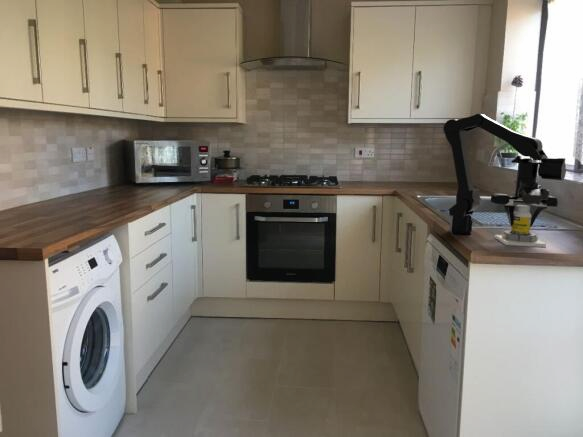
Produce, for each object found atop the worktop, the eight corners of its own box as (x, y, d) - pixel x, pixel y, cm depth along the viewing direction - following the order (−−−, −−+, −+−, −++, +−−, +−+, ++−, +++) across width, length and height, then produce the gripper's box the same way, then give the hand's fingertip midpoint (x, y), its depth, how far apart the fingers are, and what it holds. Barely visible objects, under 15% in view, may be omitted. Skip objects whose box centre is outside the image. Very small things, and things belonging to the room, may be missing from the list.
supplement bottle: (508, 235, 151) (511, 205, 149) (512, 233, 155) (516, 204, 153) (526, 238, 147) (530, 207, 146) (530, 235, 152) (534, 205, 150)
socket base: (505, 244, 147) (506, 235, 146) (494, 237, 157) (495, 228, 157) (545, 247, 145) (546, 237, 145) (531, 239, 156) (532, 230, 156)
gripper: (504, 179, 141) (498, 229, 144) (569, 181, 139) (562, 233, 142) (492, 176, 152) (487, 223, 155) (553, 178, 150) (546, 226, 153)
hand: (520, 226), depth 151 cm, fingers closed on supplement bottle, 5 cm apart
